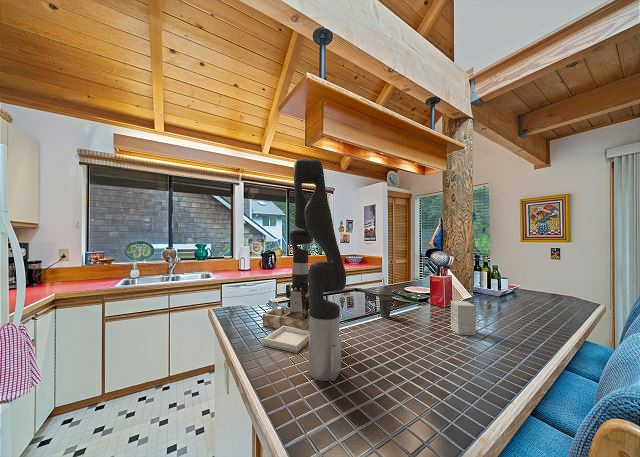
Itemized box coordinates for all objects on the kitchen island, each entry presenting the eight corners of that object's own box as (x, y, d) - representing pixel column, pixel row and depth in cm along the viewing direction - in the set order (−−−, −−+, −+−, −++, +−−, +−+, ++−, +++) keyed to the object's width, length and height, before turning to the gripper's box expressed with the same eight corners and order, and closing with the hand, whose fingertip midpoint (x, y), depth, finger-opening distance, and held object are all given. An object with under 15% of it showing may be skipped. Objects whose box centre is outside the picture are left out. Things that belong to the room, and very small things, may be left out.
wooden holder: (317, 322, 114) (317, 311, 114) (304, 333, 101) (304, 320, 101) (279, 316, 122) (279, 305, 122) (262, 325, 109) (262, 313, 109)
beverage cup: (394, 319, 120) (394, 279, 121) (379, 318, 121) (380, 278, 121) (390, 314, 128) (390, 276, 128) (376, 314, 128) (376, 276, 128)
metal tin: (287, 321, 115) (288, 306, 115) (282, 324, 110) (282, 309, 111) (278, 319, 117) (279, 305, 117) (272, 323, 112) (273, 307, 112)
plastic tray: (313, 337, 97) (313, 331, 97) (296, 353, 84) (296, 345, 84) (283, 331, 103) (283, 325, 103) (263, 345, 90) (263, 338, 90)
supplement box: (467, 329, 110) (467, 301, 110) (476, 335, 102) (476, 305, 103) (450, 328, 110) (450, 300, 111) (457, 334, 103) (457, 304, 103)
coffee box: (303, 329, 104) (304, 292, 105) (289, 328, 106) (290, 291, 106) (308, 322, 113) (309, 287, 114) (295, 321, 115) (296, 286, 115)
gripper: (282, 272, 110) (281, 309, 109) (311, 274, 104) (310, 313, 104) (290, 270, 117) (290, 304, 116) (318, 272, 111) (317, 308, 110)
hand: (299, 308), depth 110 cm, fingers closed on coffee box, 7 cm apart
